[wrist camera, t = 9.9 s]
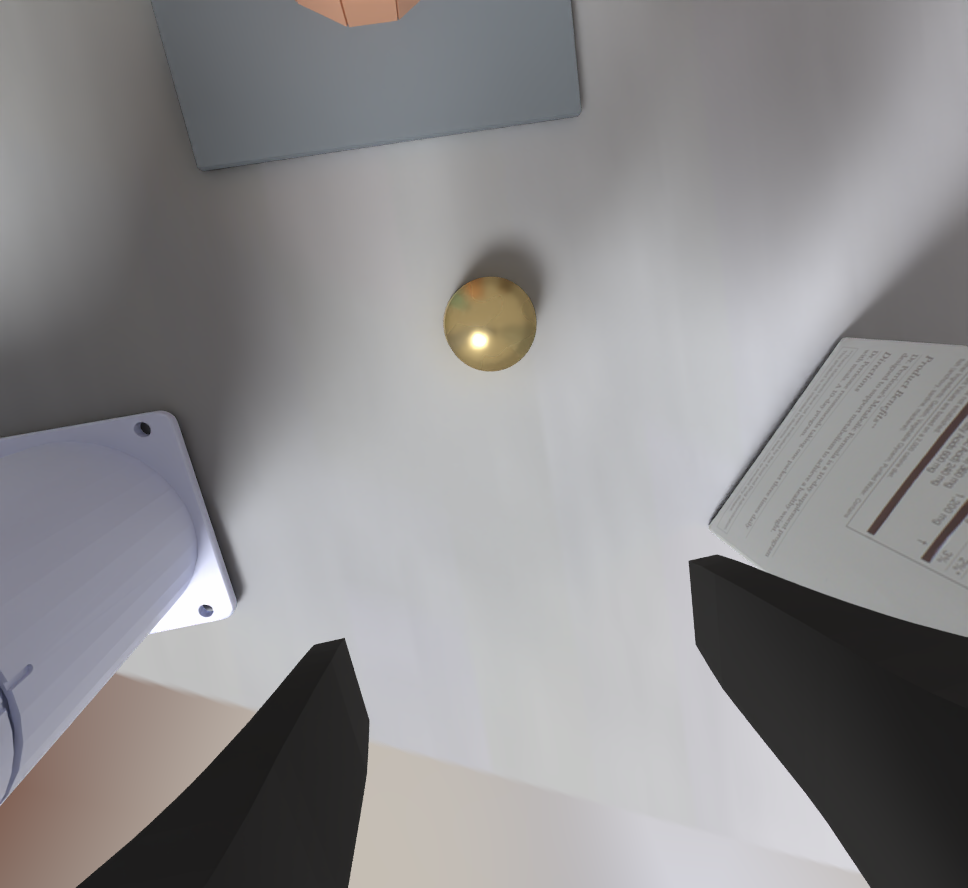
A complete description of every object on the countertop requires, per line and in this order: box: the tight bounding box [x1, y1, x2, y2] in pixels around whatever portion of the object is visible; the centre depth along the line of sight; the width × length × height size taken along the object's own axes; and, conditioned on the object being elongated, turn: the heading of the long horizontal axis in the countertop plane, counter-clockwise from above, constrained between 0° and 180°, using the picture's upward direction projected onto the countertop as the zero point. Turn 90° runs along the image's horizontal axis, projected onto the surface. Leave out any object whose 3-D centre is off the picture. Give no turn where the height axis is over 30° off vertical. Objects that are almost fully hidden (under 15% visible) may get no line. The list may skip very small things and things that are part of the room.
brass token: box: [443, 277, 536, 371], centre depth 17 cm, size 3×3×2 cm
